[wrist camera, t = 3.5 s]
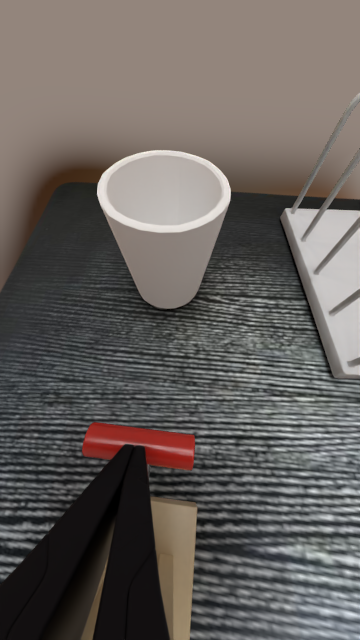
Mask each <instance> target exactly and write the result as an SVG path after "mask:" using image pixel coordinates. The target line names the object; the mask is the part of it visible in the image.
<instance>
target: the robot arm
mask: <svg viewBox="0 0 360 640" xmlns="http://www.w3.org/2000/svg"><path fill="white" fill-rule="evenodd" d="M155 548H156V545H155V536H154V527H153V517H152V508H151V498H150V489H149V480H148V470H147V461H146V451H145V446H141V445H135V446H134V445H133V444H124V445H123V446H122V447H121V449H120V450H119V451H118V452H117V453H116V454H115V456H114V457H113V458H112V459H111V460H110V461H109V462H108V464H107V465H106V466H105V467H104V468H103V469H102V471H101V472H100V473H99V474H98V475H97V476H96V478H95V479H94V480H93V481H92V482H91V483H90V484H89V486H88V487H87V488H86V489H85V490H84V491H83V493H82V494H81V495H80V496H79V497H78V498H77V499H76V501H75V502H74V503H73V504H72V505H71V506H70V508H69V509H68V510H67V511H66V512H65V513H64V515H63V516H62V517H61V518H60V519H59V520H58V521H57V523H56V524H55V525H54V526H53V527H52V528H51V530H50V531H49V534H46V535H45V536H44V538H43V539H42V540H41V541H40V542H39V543H38V545H37V546H36V547H35V548H34V549H33V550H32V551H31V552H30V554H29V555H28V556H27V557H26V558H25V559H24V560H23V561H22V562H21V564H20V565H19V566H18V567H17V568H16V569H15V570H14V571H13V572H12V573H11V574H10V575H9V576H8V577H7V578H6V579H5V581H4V582H3V583H2V584H1V585H0V640H81V638H82V635H83V632H84V629H85V626H86V623H87V620H88V617H89V613H90V610H91V607H92V604H93V601H94V598H95V595H96V592H97V589H98V586H99V583H100V580H101V577H102V574H103V571H104V568H105V565H106V562H107V559H108V562H107V567H106V572H105V577H104V582H103V588H102V593H101V598H100V603H99V608H98V613H97V619H96V624H95V629H94V634H93V639H92V640H170V635H169V631H168V626H167V621H166V615H165V610H164V604H163V599H162V593H161V586H160V579H159V571H158V563H157V554H156V550H155ZM108 555H109V557H108Z"/></svg>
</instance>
